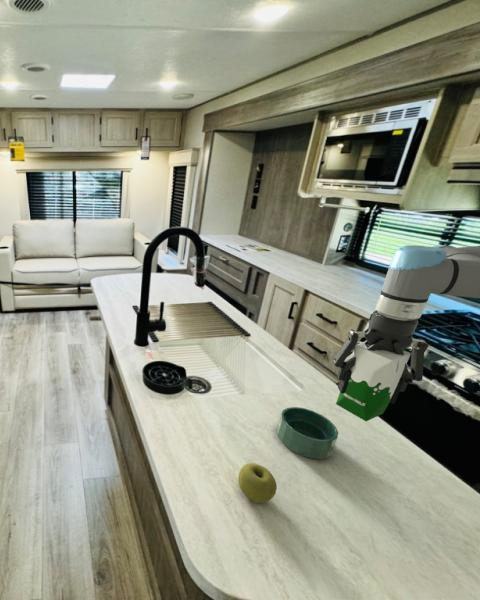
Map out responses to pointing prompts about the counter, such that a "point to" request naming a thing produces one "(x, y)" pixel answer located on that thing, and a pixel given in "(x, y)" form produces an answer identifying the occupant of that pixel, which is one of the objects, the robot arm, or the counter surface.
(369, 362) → the soya milk
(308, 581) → the counter surface
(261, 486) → the apple
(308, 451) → the green bowl
